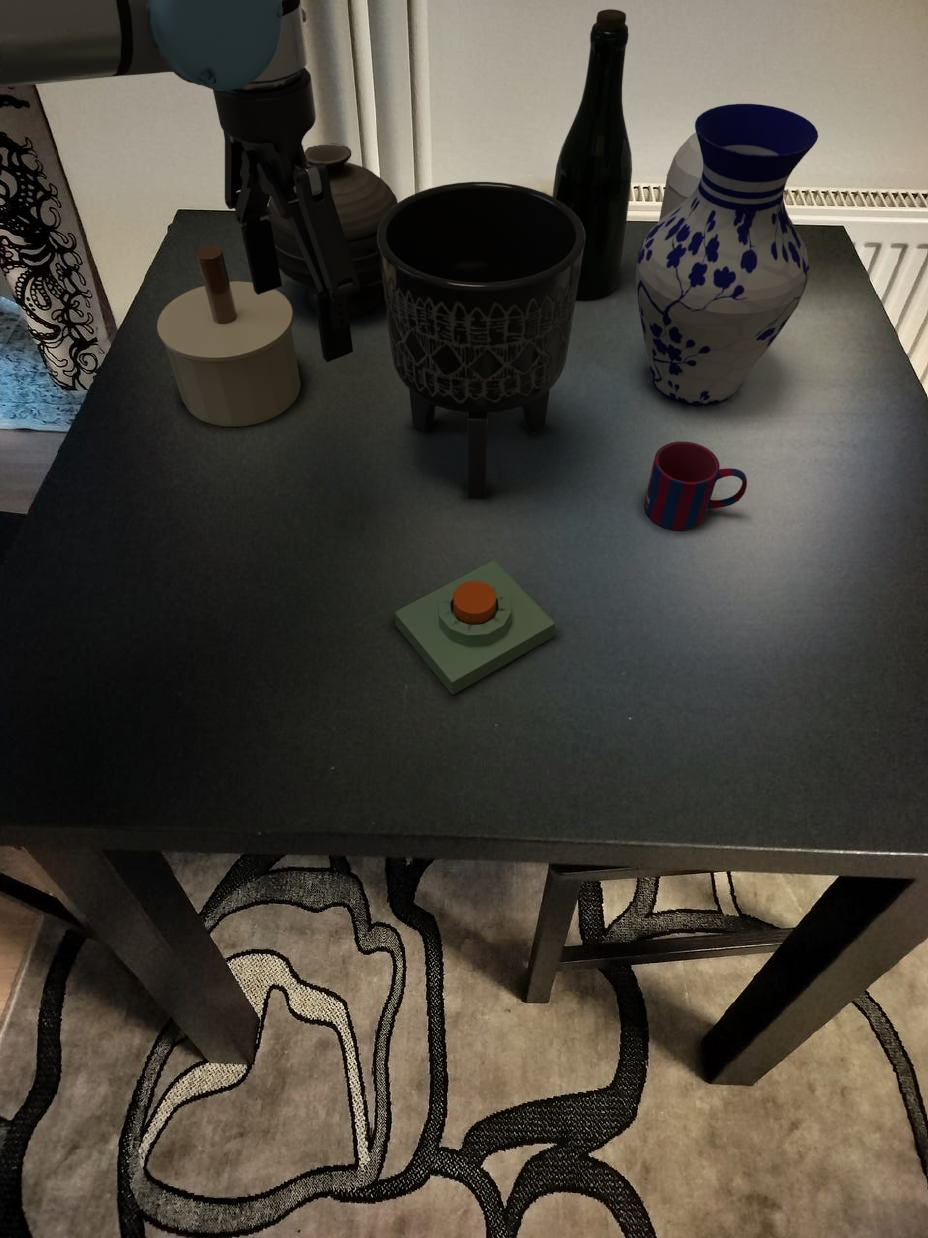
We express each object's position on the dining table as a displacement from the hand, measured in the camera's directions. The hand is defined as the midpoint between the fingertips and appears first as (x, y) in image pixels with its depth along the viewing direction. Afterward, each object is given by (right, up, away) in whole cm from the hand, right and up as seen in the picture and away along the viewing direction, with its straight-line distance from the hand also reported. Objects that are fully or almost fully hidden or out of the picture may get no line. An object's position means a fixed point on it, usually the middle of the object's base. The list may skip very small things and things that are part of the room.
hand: (301, 320), depth 82 cm
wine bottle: (+32, +20, +42) cm, 57 cm away
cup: (+40, -17, +13) cm, 45 cm away
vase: (+45, +2, +28) cm, 52 cm away
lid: (-12, +6, +19) cm, 23 cm away
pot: (-2, +17, +39) cm, 43 cm away
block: (+16, -30, +3) cm, 34 cm away
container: (+49, +22, +43) cm, 69 cm away
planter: (+17, -8, +20) cm, 27 cm away
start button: (+16, -27, 0) cm, 32 cm away
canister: (-13, +1, +26) cm, 29 cm away
